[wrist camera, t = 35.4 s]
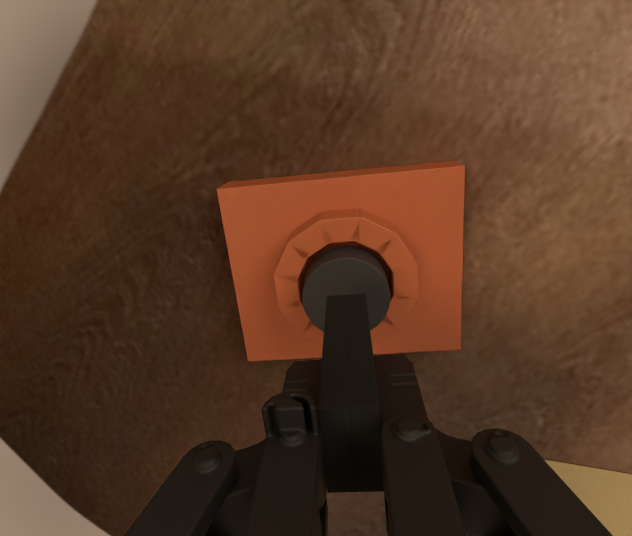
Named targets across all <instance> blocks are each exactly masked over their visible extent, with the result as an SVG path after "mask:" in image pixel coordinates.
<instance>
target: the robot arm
mask: <svg viewBox="0 0 632 536" xmlns="http://www.w3.org/2000/svg"><path fill="white" fill-rule="evenodd" d="M262 415H263V421H264V426H265V432H266V439H265V440H263V441H261V442H260V443H258V444H256V445H253V446H251V447H248V448H245V449H241V450H238V451H234V449H233V448H232V446H231V445H230V444H229V443H226V442H223V441H208V442H205V443H201V444H199V445H198V446H196V447H194V448H192V449H191V450H190V451H189V452H188V453H187V454H186V455H185V456H184V457H183V458H182V459H181V461H180V462H179V463H178V465H177V466H176V467H175V469H174V470H173V471H172V473H171V474H170V475H169V477H168V478H167V479H166V481H165V482H164V483H163V485H162V486H161V487H160V489H159V490H158V491H157V493H156V494H155V495H154V497H153V498H152V499H151V501H150V502H149V503H148V505H147V506H146V507H145V509H144V510H143V511H142V513H141V514H140V515H139V517H138V518H137V519H136V521H135V522H134V523H133V525H132V526H131V527H130V529H129V530H128V531H127V533H126V534H125V535H124V536H327V530H328V507H327V499H326V492H327V490H328V493H330V492H371V491H384V496H385V514H386V531H387V532H388V536H466V534H468V535H470V536H613V535H612V534H611V533H610V532H609V531H608V530H607V529H606V527H605V526H604V525H603V524H602V523H601V522H600V521H599V520H598V519H597V518H596V516H595V515H594V514H593V513H592V512H591V511H590V510H589V509H588V508H587V507H586V505H585V504H584V503H583V502H582V501H581V500H580V499H579V498H578V497H577V496H576V494H575V493H574V492H573V491H572V490H571V489H570V488H569V487H568V486H567V485H566V483H565V482H564V481H563V480H562V479H561V478H560V477H559V476H558V475H557V474H556V472H555V471H554V470H553V469H552V468H551V467H550V466H549V465H548V464H547V463H546V461H545V460H544V459H543V458H542V457H541V456H540V455H539V454H538V453H537V452H536V450H535V449H534V448H533V447H532V446H531V445H530V444H529V443H528V442H527V441H525V440H524V439H523V438H522V437H521V436H519V435H516V434H514V433H512V432H510V431H506V430H501V429H486V430H483V431H481V432H478V433H477V434H476V435H475V436H474V437H473V438H472V441H467V440H462V439H457V438H454V437H450V436H448V435H446V434H443V433H441V432H440V431H438V430H437V429H436V428H434V426H433V424H432V422H430V421H429V419H428V417H427V414H426V410H425V407H424V403H423V400H422V396H421V392H420V389H419V385H418V382H417V378H416V376H415V371H414V367H413V364H412V362H411V361H410V360H409V359H407V358H406V357H405V356H404V355H403V354H401V355H383V356H373V349H372V341H371V333H370V325H369V318H368V310H367V302H366V294H365V293H364V294H349V295H334V296H327V301H326V313H325V325H324V337H323V349H322V360H310V361H295V362H294V363H293V364H292V366H291V367H290V368H289V369H288V370H287V374H286V378H285V383H284V388H283V392H282V393H280V394H278V395H275V396H273V397H271V398H270V399H269V400H268V401H267V402H265V404H264V406H263V408H262Z"/></svg>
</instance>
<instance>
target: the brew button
mask: <svg viewBox="0 0 632 536" xmlns="http://www.w3.org/2000/svg"><path fill="white" fill-rule="evenodd" d="M364 293H365V294H366V302H367V310H368V318H369V325H370V331H371V330H373V329H374V328H375V327H376V326H378V325H379V324H380V323H381V321H382V320H383V319H384V317H385V316H386V314H387V312H388V309H389V306H390V289H389V285H388V282H387V278H386V274H385V271H384V269H383V267H382V265H381V263H380V262H379V261H378V260H377V259H376V258H375V257H374V256H373V255H372V254H370V253H369V252H367V251H365V250H363V249H361V248H358V247H353V246H339V247H334V248H331V249H329V250H326V251H325V252H323V253H321V254H320V255H319V256H317V257H316V258H315V259H314V261H313V262H312V263H311V265H310V266H309V268H308V271H307V273H306V277H305V282H304V287H303V291H302V303H303V307H304V310H305V313H306V315H307V317H308V318H309V319H310V321H311V322H312V323H313V324H314V325H315V326H316V327H317V328H318V329H320V330H322V331H323V332H324V325H325V313H326V301H327V296H334V295H349V294H364Z"/></svg>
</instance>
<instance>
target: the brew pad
mask: <svg viewBox="0 0 632 536" xmlns="http://www.w3.org/2000/svg"><path fill="white" fill-rule="evenodd" d="M464 182H465V166H464V165H462V164H459V163H457V162H455V161H443V162H432V163H422V164H411V165H401V166H390V167H380V168H369V169H359V170H348V171H338V172H327V173H317V174H306V175H296V176H285V177H275V178H264V179H254V180H243V181H233V182H227V183H226V184H224V185H222V186H221V187H219V188H218V189H217V195H218V200H219V205H220V211H221V216H222V222H223V227H224V233H225V238H226V243H227V249H228V254H229V260H230V265H231V271H232V276H233V281H234V287H235V292H236V298H237V303H238V308H239V314H240V319H241V325H242V330H243V336H244V341H245V346H246V352H247V357H248V361H265V360H283V359H301V358H319V357H322V349H323V337H324V332H323V331H322V330H320V329H318V328H317V327H316V326H315V325H314V324H313V323H312V322H311V321H310V319H309V318H308V317H307V315H306V313H305V310H304V307H303V303H302V291H303V287H304V282H305V277H306V273H307V271H308V268H309V266H310V265H311V263H312V262H313V261H314V259H315V258H316V257H317V256H319V255H320V254H321V253H323V252H325V251H326V250H329V249H331V248H334V247H339V246H353V247H358V248H361V249H363V250H365V251H367V252H369V253H370V254H372V255H373V256H374V257H375V258H376V259H377V260H378V261H379V262H380V263H381V265H382V267H383V269H384V271H385V274H386V278H387V282H388V285H389V289H390V306H389V309H388V312H387V314H386V316H385V317H384V319H383V320H382V321H381V323H380V324H379V325H378V326H376V327H375V328H374V329H373V330H371V331H370V333H371V341H372V349H373V354H391V353H408V352H426V351H444V350H460V349H461V309H462V266H463V224H464Z"/></svg>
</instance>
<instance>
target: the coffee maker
mask: <svg viewBox="0 0 632 536" xmlns="http://www.w3.org/2000/svg"><path fill="white" fill-rule="evenodd" d="M545 461H546V463H547V464H548V465H549V466H550V467H551V468H552V469H553V470H554V471H555V472H556V474H557V475H558V476H559V477H560V478H561V479H562V480H563V481H564V482H565V483H566V485H567V486H568V487H569V488H570V489H571V490H572V491H573V492H574V493H575V494H576V496H577V497H578V498H579V499H580V500H581V501H582V502H583V503H584V504H585V505H586V507H587V508H588V509H589V510H590V511H591V512H592V513H593V514H594V515H595V516H596V518H597V519H598V520H599V521H600V522H601V523H602V524H603V525H604V526H605V527H606V529H607V530H608V531H609V532H610V533H611V534H612V535H613V536H632V474H627V473H621V472H615V471H609V470H603V469H597V468H591V467H586V466H580V465H574V464H568V463H562V462H556V461H550V460H545Z"/></svg>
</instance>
